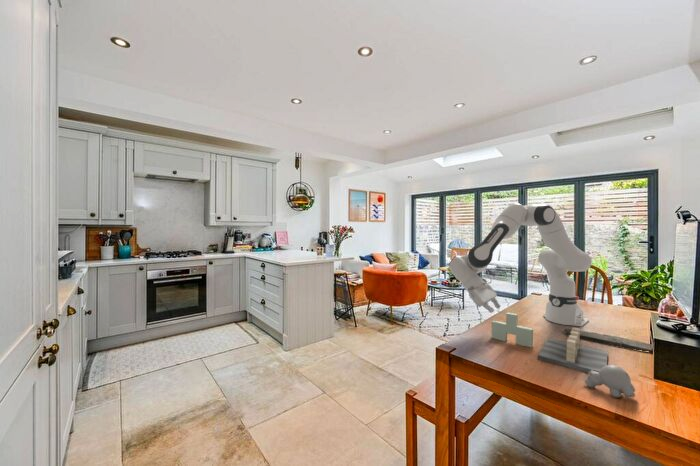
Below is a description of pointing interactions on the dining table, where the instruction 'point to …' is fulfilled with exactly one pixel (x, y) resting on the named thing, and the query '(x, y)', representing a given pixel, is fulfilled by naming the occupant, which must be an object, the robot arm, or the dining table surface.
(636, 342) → the stone slab
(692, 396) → the dining table surface
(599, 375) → the chubby cartoon animal
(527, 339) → the sage slotted plate
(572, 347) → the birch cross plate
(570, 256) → the robot arm
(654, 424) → the dining table surface
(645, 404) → the dining table surface
